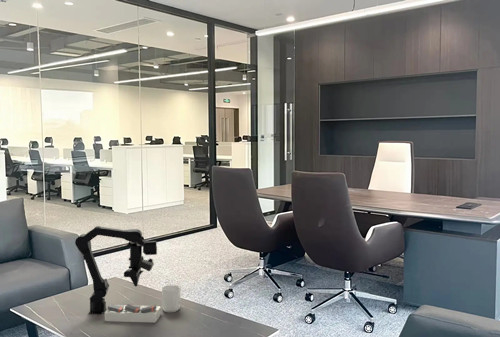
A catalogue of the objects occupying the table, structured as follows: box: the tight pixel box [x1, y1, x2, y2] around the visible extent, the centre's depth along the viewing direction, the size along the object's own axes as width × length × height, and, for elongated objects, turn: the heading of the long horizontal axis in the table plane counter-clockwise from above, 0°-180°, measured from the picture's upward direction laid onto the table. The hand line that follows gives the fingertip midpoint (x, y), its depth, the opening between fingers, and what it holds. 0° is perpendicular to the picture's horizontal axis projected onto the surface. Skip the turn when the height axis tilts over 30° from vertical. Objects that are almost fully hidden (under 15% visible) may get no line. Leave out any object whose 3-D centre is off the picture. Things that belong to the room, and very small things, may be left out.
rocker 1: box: [107, 303, 124, 312], centre depth 203 cm, size 6×3×2 cm, turn 87°
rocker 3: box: [141, 304, 157, 313], centre depth 202 cm, size 6×3×2 cm, turn 88°
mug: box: [161, 284, 182, 313], centre depth 217 cm, size 12×9×11 cm
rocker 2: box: [124, 303, 140, 313], centre depth 202 cm, size 6×3×2 cm, turn 87°
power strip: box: [104, 304, 162, 323], centre depth 204 cm, size 24×10×4 cm, turn 87°
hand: (135, 286), depth 214 cm, fingers closed
